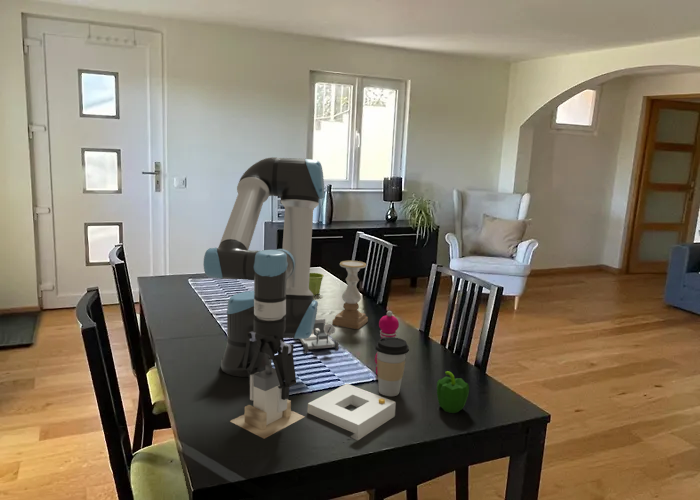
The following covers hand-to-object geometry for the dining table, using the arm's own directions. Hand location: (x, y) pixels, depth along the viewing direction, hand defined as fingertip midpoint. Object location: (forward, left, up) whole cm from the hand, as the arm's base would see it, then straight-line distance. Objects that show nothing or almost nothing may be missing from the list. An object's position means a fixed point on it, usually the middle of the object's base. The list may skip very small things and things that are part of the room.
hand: (268, 404), depth 136 cm
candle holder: (-33, +76, -6) cm, 83 cm away
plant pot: (-71, +97, -6) cm, 120 cm away
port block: (+13, +17, -5) cm, 22 cm away
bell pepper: (+30, +39, -6) cm, 50 cm away
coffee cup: (+12, +36, -6) cm, 38 cm away
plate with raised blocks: (0, 0, -5) cm, 5 cm away
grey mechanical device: (-27, +50, -6) cm, 57 cm away
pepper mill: (+4, +46, -6) cm, 47 cm away
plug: (0, 0, -4) cm, 4 cm away
